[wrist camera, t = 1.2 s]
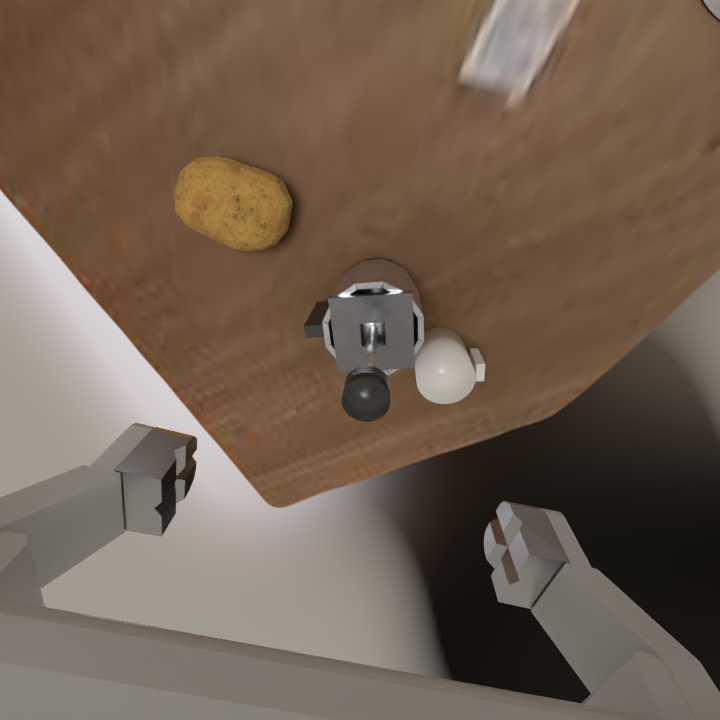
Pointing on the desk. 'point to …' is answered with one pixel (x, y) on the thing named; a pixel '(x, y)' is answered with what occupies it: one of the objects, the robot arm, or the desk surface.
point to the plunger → (368, 380)
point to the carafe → (371, 316)
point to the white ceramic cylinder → (446, 367)
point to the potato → (233, 203)
